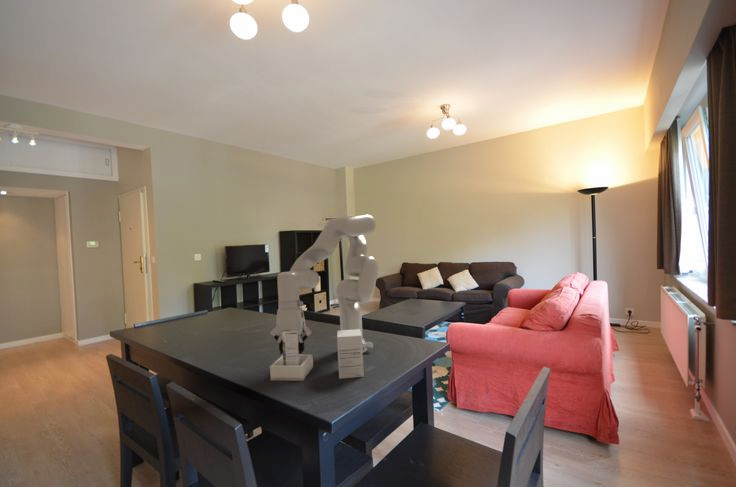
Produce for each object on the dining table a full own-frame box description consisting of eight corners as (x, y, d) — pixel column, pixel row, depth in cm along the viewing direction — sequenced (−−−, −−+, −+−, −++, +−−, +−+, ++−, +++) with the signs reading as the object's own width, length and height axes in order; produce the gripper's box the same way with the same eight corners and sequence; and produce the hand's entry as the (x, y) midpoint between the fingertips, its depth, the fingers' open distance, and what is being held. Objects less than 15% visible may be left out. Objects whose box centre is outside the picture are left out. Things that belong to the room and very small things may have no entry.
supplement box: (338, 369, 126) (336, 330, 125) (362, 367, 126) (360, 328, 126) (338, 379, 117) (336, 337, 116) (363, 377, 117) (361, 335, 117)
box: (313, 367, 129) (312, 354, 129) (302, 380, 117) (302, 366, 117) (283, 367, 130) (283, 354, 130) (270, 380, 118) (269, 366, 118)
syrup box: (286, 365, 126) (283, 327, 126) (301, 363, 127) (299, 326, 126) (283, 371, 120) (281, 331, 120) (299, 369, 121) (297, 330, 121)
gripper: (314, 302, 126) (317, 349, 126) (271, 303, 128) (274, 349, 128) (308, 306, 118) (311, 356, 119) (262, 307, 121) (265, 356, 121)
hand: (292, 352), depth 124 cm, fingers closed on syrup box, 6 cm apart
